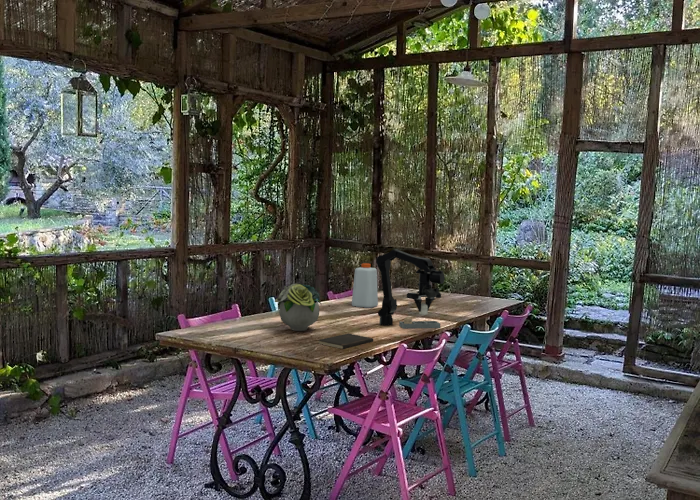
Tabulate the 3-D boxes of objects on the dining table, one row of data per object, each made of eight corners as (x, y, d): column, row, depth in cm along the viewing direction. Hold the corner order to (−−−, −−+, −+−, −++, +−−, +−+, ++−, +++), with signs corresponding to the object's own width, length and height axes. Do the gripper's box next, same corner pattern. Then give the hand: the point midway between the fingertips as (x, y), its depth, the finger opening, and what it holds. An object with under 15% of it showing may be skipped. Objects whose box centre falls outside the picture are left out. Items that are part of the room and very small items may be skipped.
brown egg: (405, 328, 347) (405, 317, 346) (402, 326, 351) (403, 316, 350) (412, 327, 348) (413, 317, 347) (410, 326, 352) (410, 316, 351)
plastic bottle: (359, 303, 433) (360, 262, 431) (379, 305, 427) (381, 263, 424) (349, 306, 420) (350, 263, 417) (370, 308, 413) (371, 265, 411)
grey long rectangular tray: (403, 330, 345) (403, 324, 344) (399, 327, 352) (399, 321, 352) (440, 329, 350) (440, 323, 349) (435, 327, 357) (435, 320, 357)
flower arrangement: (269, 326, 346) (270, 281, 344) (314, 324, 355) (315, 280, 353) (281, 335, 323) (282, 287, 321) (328, 333, 331) (330, 286, 330)
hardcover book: (317, 344, 307) (317, 339, 307) (348, 337, 325) (348, 333, 325) (343, 350, 297) (343, 345, 297) (373, 342, 315) (373, 338, 314)
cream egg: (422, 314, 339) (422, 304, 339) (417, 313, 343) (417, 302, 342) (429, 314, 341) (429, 303, 341) (424, 312, 345) (424, 302, 344)
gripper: (418, 284, 329) (417, 314, 330) (448, 283, 338) (446, 312, 339) (406, 282, 339) (405, 311, 340) (435, 281, 348) (434, 309, 349)
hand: (423, 311), depth 342 cm, fingers closed on cream egg, 4 cm apart
